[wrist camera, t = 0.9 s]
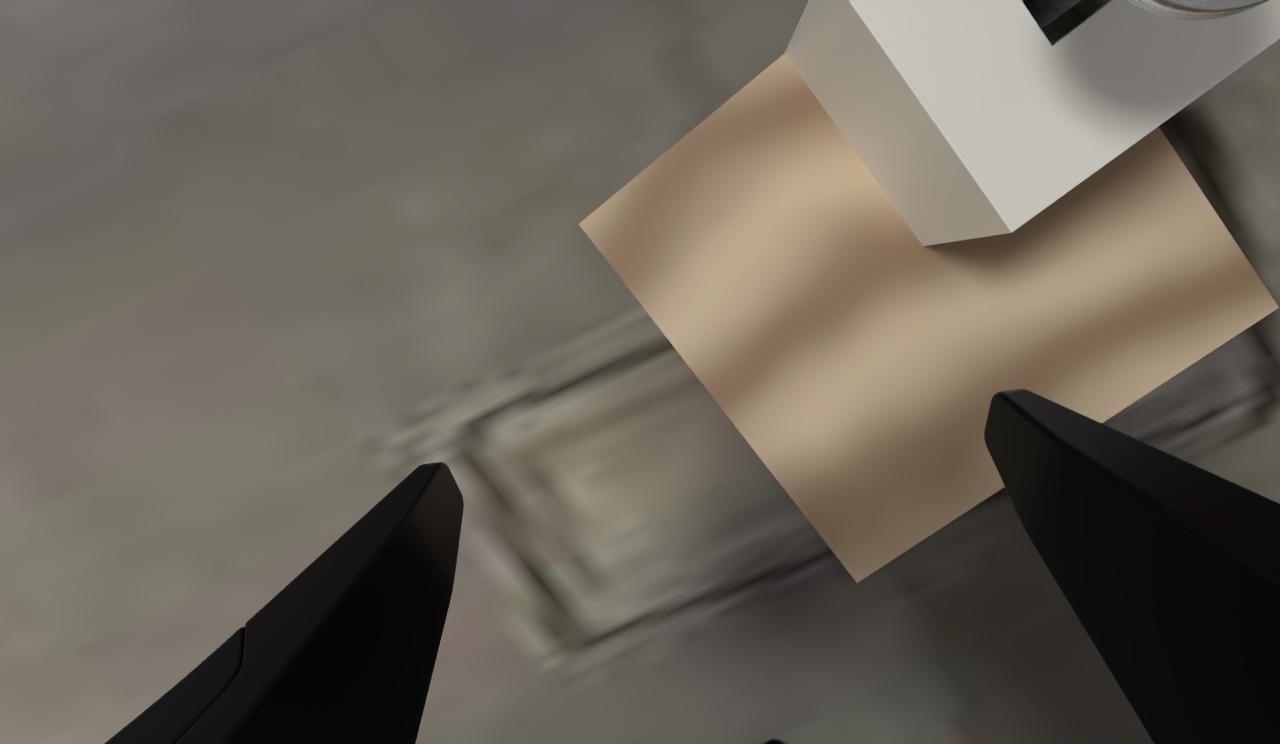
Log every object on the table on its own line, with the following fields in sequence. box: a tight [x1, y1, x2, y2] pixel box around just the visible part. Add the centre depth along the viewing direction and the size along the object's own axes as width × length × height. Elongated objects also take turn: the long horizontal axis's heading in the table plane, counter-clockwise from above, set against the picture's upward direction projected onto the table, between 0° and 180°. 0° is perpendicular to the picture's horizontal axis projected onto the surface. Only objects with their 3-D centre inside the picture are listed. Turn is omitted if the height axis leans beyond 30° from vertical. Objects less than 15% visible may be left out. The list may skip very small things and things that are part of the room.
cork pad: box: [579, 54, 1279, 583], centre depth 23 cm, size 19×19×1 cm
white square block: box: [784, 0, 1280, 246], centre depth 18 cm, size 9×9×6 cm
